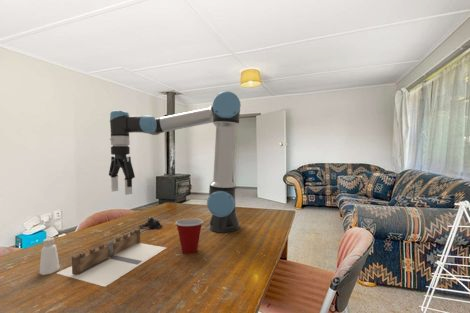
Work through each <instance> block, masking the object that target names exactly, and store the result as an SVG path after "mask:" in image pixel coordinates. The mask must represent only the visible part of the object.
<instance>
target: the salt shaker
mask: <svg viewBox="0 0 470 313" xmlns="http://www.w3.org/2000/svg"><path fill="white" fill-rule="evenodd" d="M57 247H58V246H57V244H55V238H54V237H48V238H45V239H43V247H42V248H41V251H40V261H39V262H40V264H39V275H42V276H45V275H50V274H53V273H55V272H59V270H60V268H61V266H60V261H59V260H60V259H59V254H58V248H57Z"/></svg>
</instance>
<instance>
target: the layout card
mask: <svg viewBox="0 0 470 313" xmlns="http://www.w3.org/2000/svg"><path fill="white" fill-rule="evenodd" d="M166 249H167V247H165V246H158V245H152V244H146V243H142V242H139V243H136V244H134V245H132V246H131V247H129V248H127V249H125V250H123V251H121V252H119V253H117V254H115V255H114V256H112V257H109V258H107V259H105V260H103V261H101V262H99V263H97V264H95V265H93V266H91V267H89V268H87V269H85V270H83V271H81V272H80V273H78V274H76V275H74V274H72V265H71V266H69V267H66V268H65V269H62V270H60V271H57V272H56V275H60V276H65V277H68V278H71V279H75V280H79V281H82V282H86V283H88V284H89V283H90V284H93V285H97V286H101V287H104V288H106V287H107V286H108V285H110V284H112V283H115V281H116V280H118V279H119V278H121V277H123V276H125V275H126V274H127V273H129V272H131V271H132V270H134V269H136V268H138V267H139V266H140V265H142V264H144V263H146V262H147V261H149V260H150V259H151V258H153V257H155V256H156V255H158V254H159V253H161V252H162V251H164V250H166Z"/></svg>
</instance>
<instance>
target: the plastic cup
mask: <svg viewBox="0 0 470 313" xmlns="http://www.w3.org/2000/svg"><path fill="white" fill-rule="evenodd" d="M203 223H204V220H202V219H200V218H182V219H178V220H176V221H175V225H176V229H177V232H178V238H179V242H180V243H179V245H180V246H181V251H182V253H183V254H185V255H192V254H195V253H196V252H197V251H198V249H199V248H198V247H199V242H200V236H201V235H200V234H201V230H202V226H203Z"/></svg>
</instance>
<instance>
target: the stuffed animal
mask: <svg viewBox="0 0 470 313" xmlns="http://www.w3.org/2000/svg"><path fill="white" fill-rule="evenodd" d="M137 227H139V229H140V228H141V229H143V230H140V234H141V233H143V232H146V231H148V230H154V231H158V230H160V229H162V228H163V224H161V222H160V221H159V220H158V219H154V217H152V216H149V217H148V218H147V222H145V223H143V224H138V226H137ZM144 228H145V229H144Z"/></svg>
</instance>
